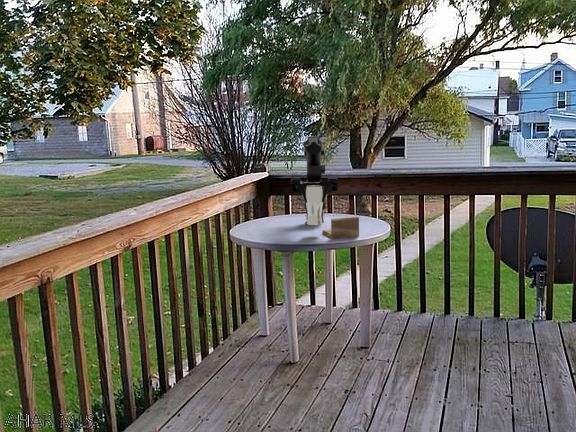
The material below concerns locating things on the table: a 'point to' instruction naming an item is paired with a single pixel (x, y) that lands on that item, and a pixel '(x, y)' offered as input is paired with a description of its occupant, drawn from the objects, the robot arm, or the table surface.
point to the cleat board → (343, 228)
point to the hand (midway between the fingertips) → (314, 202)
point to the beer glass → (314, 204)
